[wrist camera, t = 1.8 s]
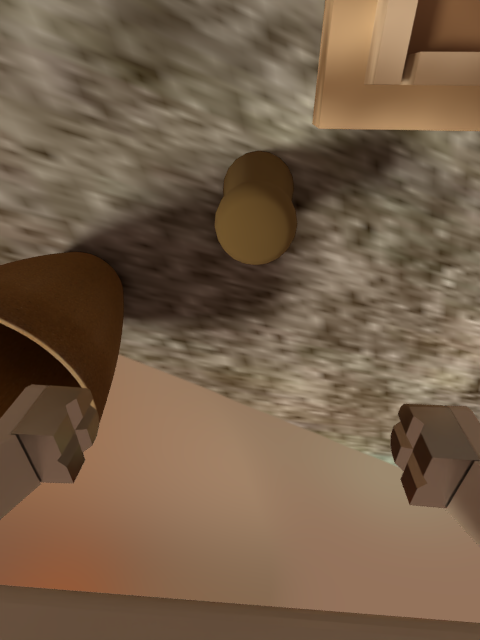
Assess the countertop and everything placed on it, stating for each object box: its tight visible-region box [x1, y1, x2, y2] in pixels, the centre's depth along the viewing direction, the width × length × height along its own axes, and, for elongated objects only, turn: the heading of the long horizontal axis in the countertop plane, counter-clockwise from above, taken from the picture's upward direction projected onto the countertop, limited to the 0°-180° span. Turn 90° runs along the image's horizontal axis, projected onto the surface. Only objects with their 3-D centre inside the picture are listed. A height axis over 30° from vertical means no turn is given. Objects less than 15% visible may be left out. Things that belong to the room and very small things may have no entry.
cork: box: [215, 151, 297, 265], centre depth 26 cm, size 6×6×11 cm
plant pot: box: [0, 252, 124, 423], centre depth 30 cm, size 15×15×16 cm
